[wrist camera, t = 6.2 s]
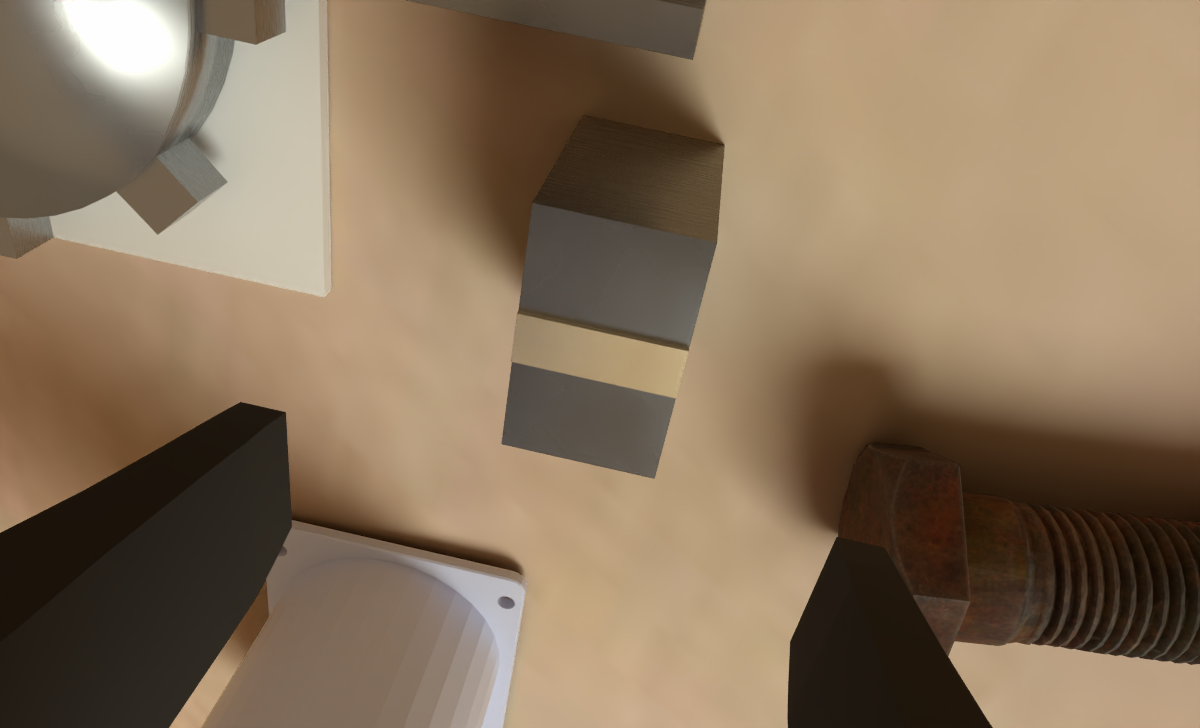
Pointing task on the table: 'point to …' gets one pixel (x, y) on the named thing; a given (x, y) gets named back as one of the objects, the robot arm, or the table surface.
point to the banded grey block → (612, 294)
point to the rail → (601, 19)
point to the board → (249, 172)
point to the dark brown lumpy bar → (1027, 562)
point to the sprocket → (112, 105)
